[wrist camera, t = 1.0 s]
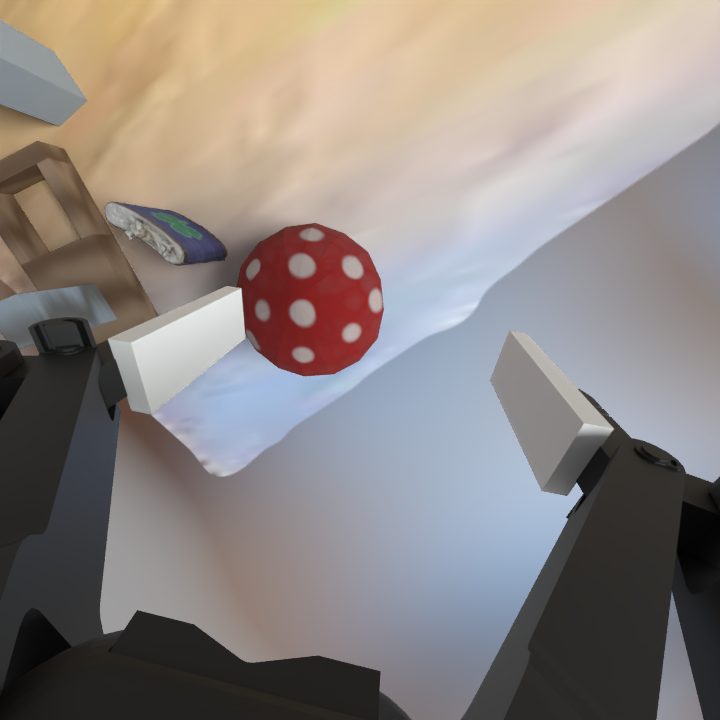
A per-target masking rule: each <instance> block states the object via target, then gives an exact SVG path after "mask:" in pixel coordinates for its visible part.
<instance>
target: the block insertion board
mask: <svg viewBox="0 0 720 720" xmlns="http://www.w3.org/2000/svg"><path fill="white" fill-rule="evenodd" d="M44 179H46V181H47V183H48V184H49V186H50V188H51V189H52V191H53V193H54V194H55V196H56V198H57V199H58V201H59V203H60V204H61V206H62V208H63V209H64V211H65V212H66V214H67V216H68V217H69V219H70V221H71V222H72V224H73V226H74V227H75V229H76V231H77V232H78V234H79V236H80V237H81V239H80V240H77V241H75V242H73V243H71V244H68V245H66V246H64V247H61V248H59V249H57V250H54V251H52V252H49V251H48V249H47V247H46V246H45V244H44V243H43V241H42V240H41V238H40V237H39V235H38V234H37V232H36V230H35V229H34V227H33V226H32V224H31V223H30V221H29V220H28V218H27V216H26V215H25V213H24V212H23V210H22V209H21V207H20V206H19V204H18V203H17V201H16V199H15V198H14V196H13V194H15V193H17V192H19V191H21V190H23V189H25V188H27V187H29V186H31V185H33V184H35V183H38V182H40V181H42V180H44ZM0 236H1V237H2V239H3V240H4V242H5V243H6V244H7V246H8V247H9V249H10V250H11V252H12V253H13V255H14V256H15V258H16V259H17V260H18V262H19V263H20V265H21V266H22V268H23V269H24V271H25V272H26V274H27V275H28V276H29V278H30V279H31V281H32V282H33V284H34V285H35V287H36V288H37V290H38V291H37V292H29V293H21V294H16V295H13V296H11V297H8V298H6V299H4V300H1V301H0V332H1V334H2V335H3V336H4V338H5V339H6V340H7V341H12V342H15V343H16V345H17V346H18V348H19V349H22V348H25V347H29V346H32V345H35V343H34V341H33V338H32V336H31V334H30V332H29V330H28V327H30V326H31V325H32V324H35V323H38V322H40V321H44V320H49V319H54V318H63V317H77V318H84V319H86V320H88V322H89V325H90V328H91V331H92V334H93V336H94V339H95V342H96V345H97V344H99V343H102V342H104V341H106V340H108V338H110V337H113V336H115V335H117V334H119V333H122V332H124V331H126V330H129V329H131V328H133V327H135V326H138V325H140V324H142V323H144V322H147V321H149V320H151V319H153V318H156V317H158V314H157V312H156V310H155V309H154V307H153V305H152V303H151V302H150V300H149V298H148V296H147V294H146V293H145V291H144V289H143V287H142V286H141V284H140V282H139V280H138V279H137V277H136V275H135V273H134V271H133V270H132V268H131V266H130V264H129V263H128V261H127V259H126V257H125V256H124V254H123V252H122V250H121V248H120V247H119V245H118V243H117V241H116V240H115V238H114V236H113V234H112V233H111V231H110V229H109V227H108V226H107V224H106V222H105V220H104V218H103V217H102V215H101V213H100V211H99V210H98V208H97V206H96V204H95V203H94V201H93V199H92V197H91V195H90V194H89V192H88V190H87V188H86V187H85V185H84V183H83V181H82V180H81V178H80V176H79V174H78V172H77V171H76V169H75V167H74V165H73V164H72V162H71V160H70V158H69V157H68V155H67V153H66V151H65V150H64V149H62V148H59V147H56V146H53V145H49V144H46V143H43V142H40V141H36V142H35V143H33V144H31V145H29V146H27V147H25V148H23V149H21V150H19V151H17V152H16V153H14V154H12V155H10V156H8V157H6V158H4V159H2V160H0Z"/></svg>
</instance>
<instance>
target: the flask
mask: <svg viewBox="0 0 720 720" xmlns="http://www.w3.org/2000/svg"><path fill="white" fill-rule="evenodd" d="M105 215H106V218H107V220H108V221H109V222H110V223H112V224H113V225H114V226H116V227H118V228H120V229H123V230H125V234H126V235H127V236H128V237H129V239H130V240H132V237H131V236H132V235H134V236H136V237H137V238H139V239H141V240H142V241H144V242H145V243H146V244H148V245H150V246H151V247H152V248H154V249H155V250H156V251H157V252H159V254H160V255H162V256H163V258H164V259H165V260H167V261H168V262H169V263H171V264H174V265H179V266H180V265H187V264H195V263H207V262H210V261H221V260H224V261H225V257H226V256H227V250H226V248H225V246H224V245H223V244H222V242H221V241H219V240H218V239H217V238H216V237H215V236H214V235H213V234H211V233H210V232H209V231H208V230H207V229H205V228H203V227H202V226H200V225H198V224H196V223H195V222H193V221H191V220H190V219H187V218H186V217H185V216H183V215H180V214H178V213H176V212H173V211H170V210H162V209H156V208H148V207H142V206H136V205H129V204H125V203H119V202H109V203H108V204H107V205H106V207H105Z"/></svg>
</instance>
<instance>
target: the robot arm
mask: <svg viewBox="0 0 720 720" xmlns="http://www.w3.org/2000/svg"><path fill="white" fill-rule="evenodd" d="M28 330H29V332H30V334H31V336H32V338H33V341H34V343H35V345H36V347H37V349H38V351H39V353H40V354H39V355H38V356H22V355H21V353H20V350H19V348H18V346H17V345H16V343H15V342H12V341H5V340H0V720H411V719H410V718H409V716H408V715H407V714H406V713H405V712H404V711H403V710H402V709H401V708H400V707H399V706H398V705H397V704H396V703H394V702H393V701H392V700H391V699H390V698H388V697H387V696H386V695H384V694H383V693H381V692H380V691H379V687H380V671H377V670H373V669H369V668H365V667H361V666H356V665H353V664H349V663H345V662H341V661H337V660H333V659H329V658H325V657H321V656H311V657H301V658H292V659H284V660H274V661H265V662H256V663H247V662H245V661H243V660H241V659H240V658H238V657H237V656H236V655H234V654H233V653H231V652H230V651H229V650H227V649H226V648H225V647H223V646H222V645H221V644H219V643H218V642H217V641H215V640H214V639H213V638H211V637H210V636H209V635H207V634H206V633H205V632H203V631H202V630H201V629H199V628H198V627H197V626H195V625H194V624H190V623H186V622H182V621H178V620H174V619H170V618H166V617H162V616H158V615H154V614H150V613H146V612H142V611H138V610H137V612H136V613H135V614H134V616H133V617H132V619H131V620H130V622H129V623H128V625H127V626H126V628H125V629H124V630H121V631H117V632H113V633H108V634H103V630H102V624H101V619H100V598H101V589H102V580H103V570H104V561H105V550H106V541H107V531H108V523H109V514H110V504H111V494H112V485H113V476H114V467H115V457H116V448H117V437H118V428H119V420H120V410H119V407H118V404H117V402H119V401H120V400H122V399H123V398H125V397H126V396H127V398H128V401H129V404H130V407H131V410H132V411H138V412H143V413H147V414H153V413H154V412H155V411H157V410H158V409H159V408H160V407H162V406H163V405H164V404H165V403H166V402H168V401H169V400H170V399H171V398H173V397H174V396H175V395H176V394H178V393H179V392H180V391H181V390H182V389H184V388H185V387H186V386H187V385H189V384H190V383H191V382H192V381H193V380H195V379H196V378H197V377H198V376H200V375H201V374H202V373H203V372H205V371H206V370H207V369H208V368H209V367H211V366H212V365H213V364H214V363H216V362H217V361H218V360H219V359H221V358H222V357H223V356H224V355H225V354H227V353H228V352H229V351H230V350H232V349H233V348H234V347H235V346H236V345H238V344H239V343H240V342H241V341H243V340H244V339H245V327H244V315H243V303H242V291H241V288H237V287H230V286H226V287H223V288H221V289H219V290H216V291H214V292H212V293H210V294H207V295H205V296H203V297H201V298H198V299H196V300H194V301H192V302H189V303H187V304H185V305H183V306H180V307H178V308H176V309H174V310H171V311H169V312H167V313H165V314H162V315H160V316H158V317H156V318H153V319H151V320H149V321H147V322H144V323H142V324H140V325H138V326H135V327H133V328H131V329H129V330H126V331H124V332H122V333H119V334H117V335H115V336H113V337H110V338H108V340H106V341H104V342H102V343H99V344H97V345H96V342H95V339H94V336H93V334H92V331H91V328H90V325H89V322H88V320H86V319H84V318H77V317H63V318H54V319H49V320H44V321H40V322H38V323H35V324H32V325H31V326H30V327H28ZM491 383H492V385H493V387H494V389H495V391H496V393H497V396H498V398H499V400H500V402H501V404H502V406H503V409H504V411H505V413H506V415H507V417H508V419H509V422H510V423H511V426H512V428H513V430H514V432H515V434H516V437H517V439H518V441H519V443H520V445H521V447H522V449H523V452H524V454H525V456H526V458H527V460H528V462H529V464H530V467H531V469H532V471H533V473H534V475H535V477H536V479H537V481H538V484H539V486H540V488H541V490H542V491H545V492H550V493H555V494H560V495H565V496H567V495H568V494H569V493H570V491H571V490H572V488H573V487H574V485H575V484H576V482H577V483H578V485H579V487H580V488H581V490H582V492H583V493H584V494H583V495H582V496H581V498H580V499H579V501H578V502H577V503H576V505H575V506H574V507H573V509H572V510H571V511H570V513H569V514H568V516H567V517H566V518H568V521H567V523H566V525H565V527H564V528H563V530H562V532H561V534H560V536H559V538H558V540H557V542H556V544H555V546H554V547H553V549H552V552H551V553H550V555H549V557H548V559H547V561H546V563H545V565H544V567H543V568H542V570H541V572H540V574H539V576H538V578H537V580H536V582H535V584H534V585H533V587H532V589H531V591H530V593H529V595H528V597H527V599H526V601H525V603H524V605H523V606H522V608H521V610H520V612H519V614H518V616H517V618H516V620H515V622H514V623H513V626H512V627H511V629H510V631H509V633H508V635H507V637H506V639H505V641H504V642H503V644H502V646H501V648H500V650H499V652H498V654H497V656H496V658H495V660H494V661H493V663H492V665H491V667H490V669H489V671H488V673H487V675H486V677H485V679H484V680H483V682H482V684H481V686H480V688H479V690H478V692H477V694H476V695H475V697H474V699H473V701H472V703H471V705H470V706H469V708H468V710H467V711H466V713H465V714H464V716H463V717H462V719H461V720H656V718H657V709H658V700H659V692H660V684H661V675H662V667H663V659H664V651H665V642H666V634H667V625H668V617H669V609H670V600H671V592H672V593H673V596H674V601H675V605H676V609H677V613H678V617H679V621H680V625H681V629H682V633H683V637H684V641H685V645H686V650H687V653H688V657H689V662H690V666H691V670H692V674H693V678H694V682H695V686H696V690H697V694H698V698H699V702H700V706H701V710H702V714H703V719H704V720H720V477H719V478H718V479H717V480H716V481H715V482H714V483H711V482H709V481H706V480H703V479H700V478H697V477H695V476H692V475H689V474H686V472H685V469H684V467H683V465H681V463H680V462H679V461H678V460H677V459H676V458H674V457H673V456H672V455H670V454H669V453H667V452H666V451H664V450H662V449H660V448H658V447H657V446H655V445H652V444H650V443H647V442H645V441H642V440H637V439H632V438H631V437H630V436H629V435H628V434H627V433H626V432H625V431H624V430H623V429H622V428H621V427H620V426H619V425H618V424H617V423H616V422H615V421H614V420H613V419H612V417H609V414H608V413H607V412H606V411H605V410H604V409H602V407H601V406H600V405H599V404H598V403H597V402H596V401H595V400H594V399H593V398H592V397H591V396H589V395H588V394H586V393H585V392H583V391H581V390H580V389H577V388H576V387H575V386H574V385H573V383H571V381H570V380H569V379H568V378H567V377H566V376H565V375H564V374H563V373H562V371H561V370H560V369H559V368H558V367H557V366H556V365H555V364H554V363H553V362H552V361H551V359H550V358H549V357H548V356H547V355H546V354H545V353H544V352H543V351H542V350H541V349H540V347H539V346H538V345H537V344H536V343H535V342H534V341H533V340H532V339H531V338H530V337H529V336H528V334H527V333H522V332H516V331H509V333H508V336H507V338H506V341H505V343H504V346H503V348H502V351H501V354H500V356H499V359H498V361H497V364H496V366H495V369H494V372H493V374H492V377H491Z"/></svg>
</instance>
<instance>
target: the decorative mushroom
mask: <svg viewBox="0 0 720 720" xmlns="http://www.w3.org/2000/svg"><path fill="white" fill-rule="evenodd" d="M237 288H241V291H242V303H243V315H244V327H245V334H246V336H247V337H248V339H249V340H250V342H251V344H252V345H253V347H254V348H255V350H256V351H258V352H259V353H260V354H262V355H263V356H264V357H265V358H267V359H268V360H269V361H270V362H272V363H273V364H274V365H275V366H277V367H278V368H280V369H283V370H286V371H289V372H292V373H296V374H299V375H302V376H315V375H329V374H335V373H337V372H339V371H341V370H343V369H344V368H346V367H348V366H350V365H352V364H354V363H356V362H358V361H359V360H360V359H361V358H362V357H363V355H364V354H365V353H366V352H367V350H368V349H369V348H370V347H371V346H372V344H373V343H374V342H375V341H376V340H377V338H378V334H379V329H380V324H381V320H382V315H383V310H384V308H383V298H382V288H381V279H380V277H379V275H378V273H377V271H376V268H375V266H374V264H373V262H372V260H371V258H370V255H369V253H368V252H367V251H366V250H365V249H363V248H362V247H361V246H360V245H358V244H357V243H356V242H354V241H353V240H352V239H351V238H349V237H348V236H347V235H346V234H344V233H342V232H339V231H336V230H333V229H331V228H328V227H325V226H322V225H319V224H317V223H313V224H305V225H298V226H291V227H285V228H284V229H282V230H281V231H279V232H277V233H275V234H274V235H272V236H270V237H268V238H267V239H265V240H263V241H261V242H259V243H258V245H257V246H256V247H255V249H254V250H253V251H252V252H251V254H250V255H249V256H248V258H247V259H246V260H245V262H244V263H243V264H242V265H241V268H240V273H239V278H238V283H237Z"/></svg>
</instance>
